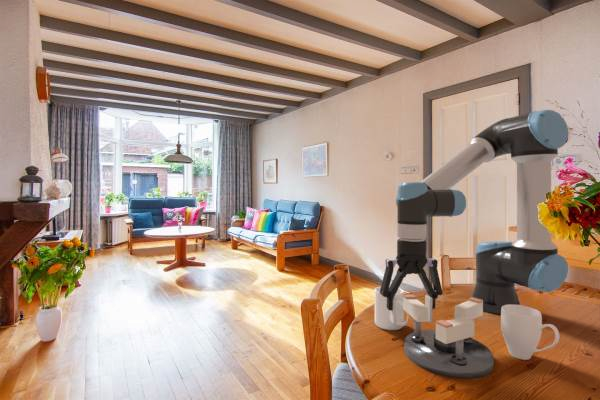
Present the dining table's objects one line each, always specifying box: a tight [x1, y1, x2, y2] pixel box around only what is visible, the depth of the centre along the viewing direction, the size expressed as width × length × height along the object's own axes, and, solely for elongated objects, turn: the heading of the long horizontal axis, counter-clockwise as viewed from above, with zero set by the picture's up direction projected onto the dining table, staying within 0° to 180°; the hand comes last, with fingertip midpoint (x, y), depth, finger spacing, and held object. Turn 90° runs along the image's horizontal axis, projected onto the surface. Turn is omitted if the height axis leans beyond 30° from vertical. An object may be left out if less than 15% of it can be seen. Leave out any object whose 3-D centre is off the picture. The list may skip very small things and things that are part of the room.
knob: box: [435, 317, 475, 359], centre depth 73 cm, size 9×3×9 cm, turn 115°
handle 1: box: [403, 294, 429, 337], centre depth 86 cm, size 9×3×9 cm, turn 5°
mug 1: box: [374, 286, 410, 331], centre depth 97 cm, size 9×12×11 cm
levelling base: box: [404, 329, 494, 379], centre depth 81 cm, size 20×20×6 cm
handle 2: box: [453, 296, 484, 339], centre depth 85 cm, size 9×3×9 cm, turn 126°
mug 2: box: [500, 304, 560, 361], centre depth 79 cm, size 12×8×11 cm
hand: (410, 320), depth 89 cm, fingers open, 9 cm apart
